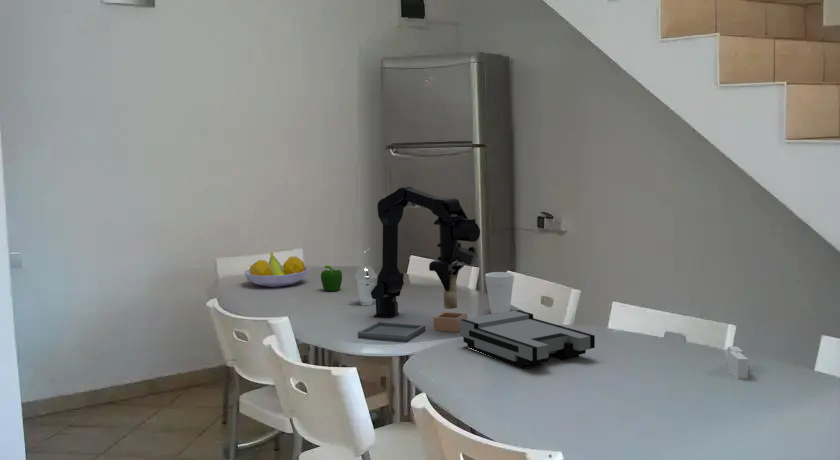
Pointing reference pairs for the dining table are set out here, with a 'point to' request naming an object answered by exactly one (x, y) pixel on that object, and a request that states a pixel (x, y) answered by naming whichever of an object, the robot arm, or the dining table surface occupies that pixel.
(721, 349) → the dining table surface
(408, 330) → the charcoal tray
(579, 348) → the game console
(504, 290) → the foam cup
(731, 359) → the napkin holder
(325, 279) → the bell pepper
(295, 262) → the fruit bowl
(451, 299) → the dowel pin
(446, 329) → the terracotta square frame
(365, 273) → the cup with straw
